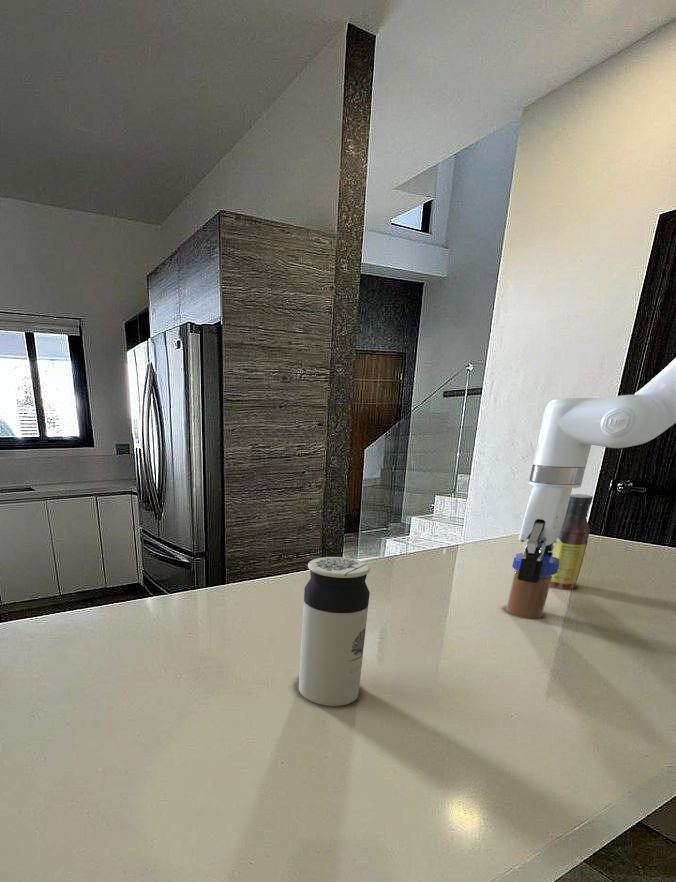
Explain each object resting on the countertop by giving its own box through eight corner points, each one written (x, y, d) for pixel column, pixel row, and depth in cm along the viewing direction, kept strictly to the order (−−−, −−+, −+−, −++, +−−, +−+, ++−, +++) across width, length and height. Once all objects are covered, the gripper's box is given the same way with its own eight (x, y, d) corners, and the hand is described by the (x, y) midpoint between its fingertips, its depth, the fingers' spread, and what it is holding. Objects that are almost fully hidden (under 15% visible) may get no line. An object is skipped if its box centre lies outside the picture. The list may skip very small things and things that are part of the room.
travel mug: (286, 689, 66) (292, 563, 59) (323, 671, 70) (333, 552, 64) (333, 715, 60) (345, 579, 53) (370, 693, 65) (385, 565, 58)
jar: (530, 608, 93) (542, 559, 90) (548, 620, 88) (562, 568, 84) (499, 608, 93) (510, 558, 90) (515, 620, 88) (527, 567, 84)
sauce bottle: (547, 579, 109) (569, 491, 102) (579, 586, 105) (604, 495, 98) (536, 586, 105) (558, 494, 98) (569, 593, 101) (594, 498, 94)
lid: (541, 577, 83) (544, 564, 82) (503, 567, 89) (506, 555, 88) (565, 572, 86) (568, 559, 85) (527, 562, 92) (530, 550, 91)
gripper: (541, 471, 90) (521, 562, 96) (518, 479, 78) (496, 583, 84) (590, 474, 85) (565, 569, 91) (573, 483, 73) (546, 593, 79)
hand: (532, 575), depth 88 cm, fingers closed on lid, 6 cm apart
